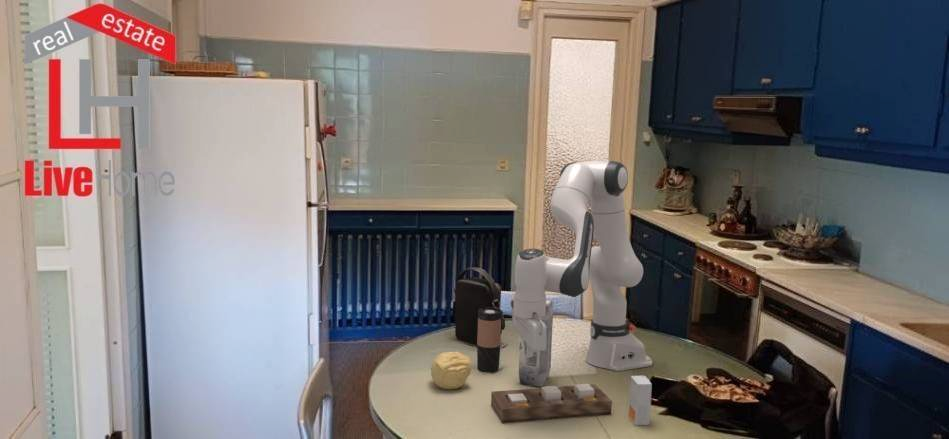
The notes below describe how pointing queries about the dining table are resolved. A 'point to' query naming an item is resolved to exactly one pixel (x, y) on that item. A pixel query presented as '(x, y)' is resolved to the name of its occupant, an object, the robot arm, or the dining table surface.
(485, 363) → the travel mug
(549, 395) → the button middle
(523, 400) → the button
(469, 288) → the shoulder bag
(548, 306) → the juice carton
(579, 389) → the button
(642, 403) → the skincare box
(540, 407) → the button board
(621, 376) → the dining table surface
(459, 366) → the sculpture
